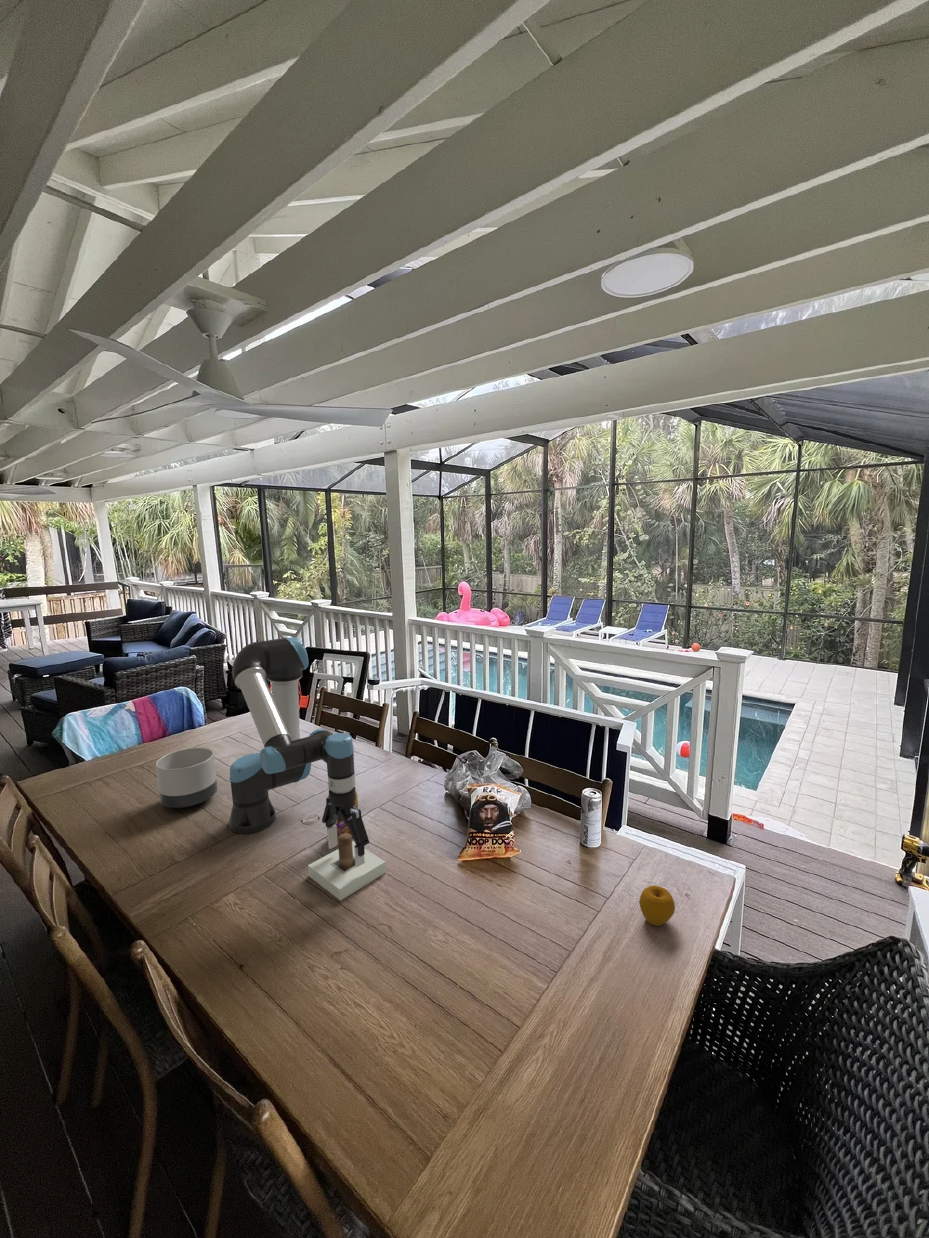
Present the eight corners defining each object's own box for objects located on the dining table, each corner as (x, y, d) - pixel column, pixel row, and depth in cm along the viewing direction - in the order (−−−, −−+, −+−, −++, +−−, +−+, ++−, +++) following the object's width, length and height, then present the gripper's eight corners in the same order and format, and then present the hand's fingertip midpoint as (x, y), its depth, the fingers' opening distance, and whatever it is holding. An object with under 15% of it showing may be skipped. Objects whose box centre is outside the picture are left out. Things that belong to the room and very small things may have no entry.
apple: (670, 939, 130) (671, 906, 128) (634, 926, 134) (636, 894, 133) (676, 917, 137) (678, 886, 136) (643, 905, 141) (644, 875, 140)
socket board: (308, 875, 156) (307, 864, 156) (353, 851, 168) (352, 840, 167) (340, 900, 145) (339, 888, 145) (385, 872, 157) (385, 861, 156)
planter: (148, 809, 195) (143, 764, 192) (193, 786, 213) (188, 744, 210) (187, 819, 188) (181, 773, 185) (229, 794, 206) (225, 751, 203)
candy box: (334, 844, 172) (331, 800, 169) (329, 837, 175) (326, 795, 173) (360, 835, 177) (357, 792, 174) (355, 829, 180) (352, 787, 178)
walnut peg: (337, 874, 157) (335, 837, 154) (348, 868, 159) (346, 831, 157) (345, 880, 154) (343, 842, 152) (356, 873, 157) (354, 836, 155)
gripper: (307, 779, 157) (312, 844, 161) (357, 807, 141) (361, 879, 145) (328, 770, 163) (333, 834, 167) (379, 796, 146) (383, 866, 150)
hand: (346, 855), depth 156 cm, fingers open, 13 cm apart
